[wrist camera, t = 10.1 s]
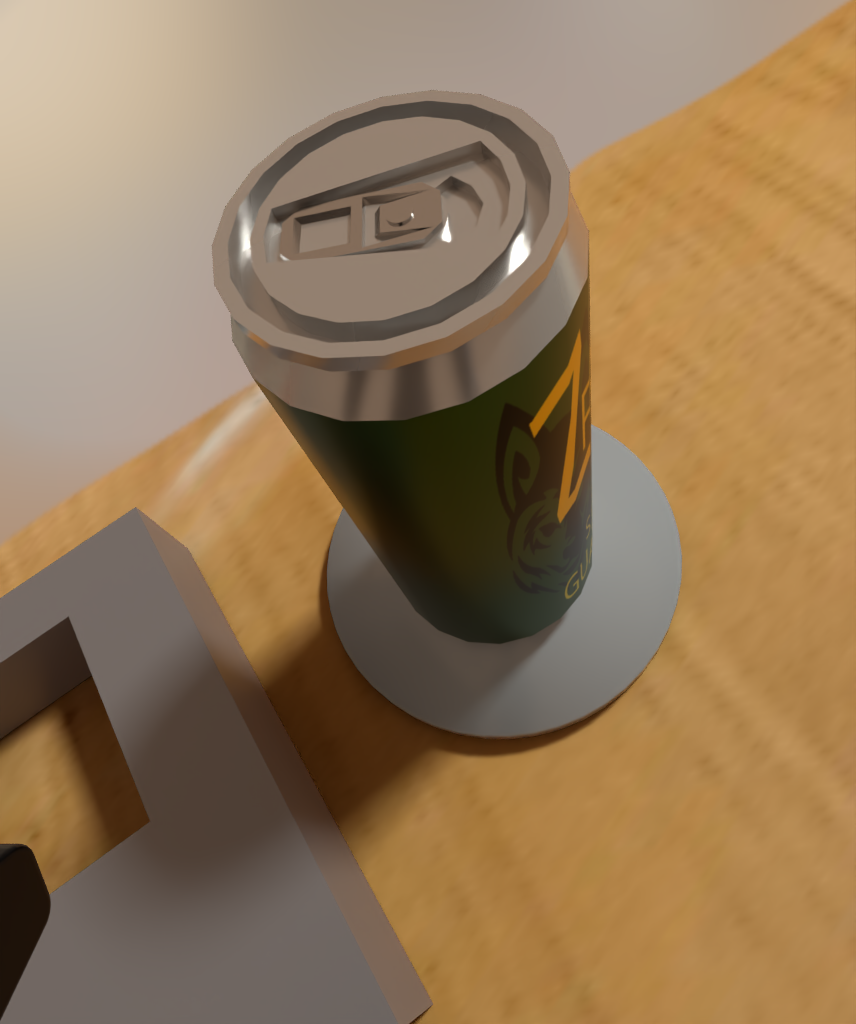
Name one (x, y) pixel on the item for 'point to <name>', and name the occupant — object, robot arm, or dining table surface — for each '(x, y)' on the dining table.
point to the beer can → (429, 345)
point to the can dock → (190, 816)
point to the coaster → (532, 660)
